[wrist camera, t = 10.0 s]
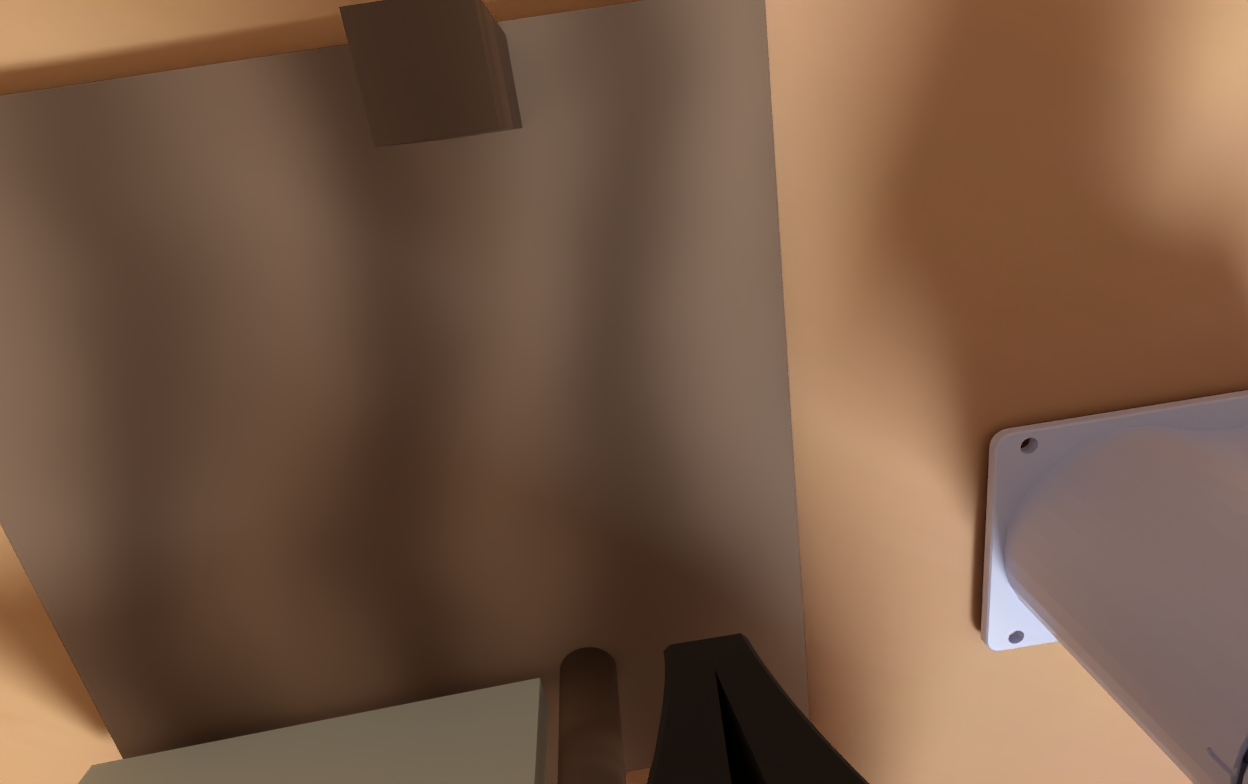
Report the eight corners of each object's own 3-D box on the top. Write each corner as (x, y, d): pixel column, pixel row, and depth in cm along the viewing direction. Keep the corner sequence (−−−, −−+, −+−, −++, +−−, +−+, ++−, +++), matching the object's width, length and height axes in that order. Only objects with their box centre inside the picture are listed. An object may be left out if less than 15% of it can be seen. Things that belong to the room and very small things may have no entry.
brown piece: (757, -14, 17) (865, -95, 11) (805, 726, 25) (883, 923, 19) (-181, 126, 16) (-630, 126, 10) (178, 830, 25) (47, 1065, 18)
